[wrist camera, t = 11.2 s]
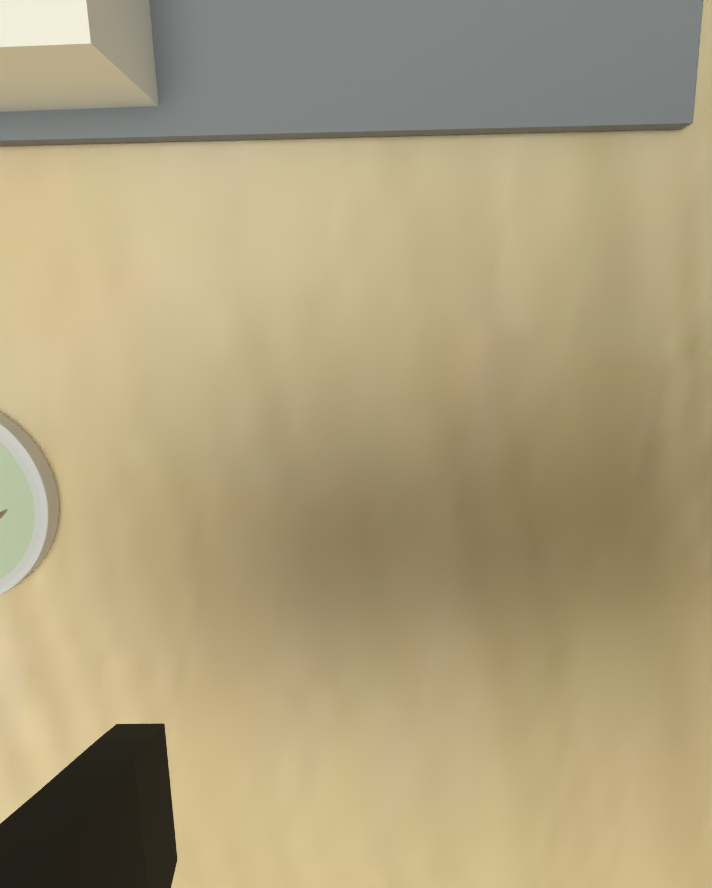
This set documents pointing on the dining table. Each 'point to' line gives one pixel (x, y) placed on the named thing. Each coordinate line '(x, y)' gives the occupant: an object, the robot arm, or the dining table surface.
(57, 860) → the robot arm
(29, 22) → the card box
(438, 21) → the mat
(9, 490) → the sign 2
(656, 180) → the dining table surface
